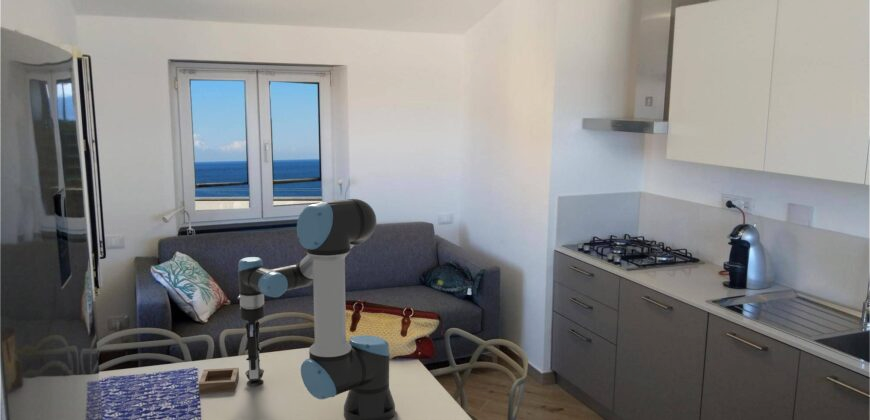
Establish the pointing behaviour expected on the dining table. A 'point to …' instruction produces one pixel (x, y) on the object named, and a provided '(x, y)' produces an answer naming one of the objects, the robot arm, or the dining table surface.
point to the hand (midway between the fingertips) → (254, 374)
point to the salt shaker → (260, 373)
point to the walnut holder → (219, 380)
